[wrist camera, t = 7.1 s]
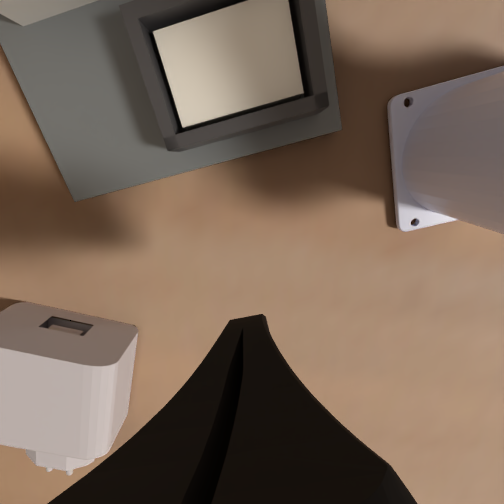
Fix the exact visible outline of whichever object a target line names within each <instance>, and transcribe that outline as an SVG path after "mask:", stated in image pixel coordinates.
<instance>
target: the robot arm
mask: <svg viewBox="0 0 504 504" xmlns="http://www.w3.org/2000/svg"><path fill="white" fill-rule="evenodd" d="M406 98H408V99H409V101H410V103H409V106H408V107H405V106H404V100H405V99H406ZM387 111H388V124H389V137H390V150H391V163H392V175H393V188H394V201H395V214H396V225H397V228H398V229H399V230H401V231H404V232H405V231H411V230H415V229H420V228H424V227H429V226H433V225H437V224H442V223H446V222H451V221H455V220H461V221H464V222H467V223H471V224H474V225H477V226H480V227H483V228H486V229H489V230H492V231H496V232H499V233H502V234H504V66H500V67H497V68H493V69H490V70H486V71H482V72H479V73H475V74H472V75H468V76H464V77H461V78H457V79H453V80H450V81H446V82H443V83H439V84H435V85H432V86H428V87H425V88H421V89H417V90H414V91H410V92H406V93H403V94H399V95H397V96H394V97H392V98H391V99H390V100H389V102H388V106H387ZM413 219H416V222H415V223H414V224H413V225H411V221H412V220H413ZM48 504H417V502H416V501H415V499H414V498H413V496H412V495H411V493H410V492H409V491H408V489H407V488H406V486H405V485H404V483H403V482H402V481H401V479H400V478H399V476H398V475H397V474H396V472H395V471H394V470H393V468H392V467H391V465H389V464H388V463H387V462H386V461H385V460H383V459H382V458H381V457H380V456H378V455H377V454H376V453H375V452H373V451H372V450H371V449H370V448H368V447H367V446H366V445H365V444H364V443H363V442H361V441H360V440H359V439H358V438H357V437H355V436H354V435H353V434H352V433H351V432H350V431H349V430H348V429H347V428H345V427H344V426H343V425H342V424H341V423H340V422H339V421H338V420H337V419H336V418H335V417H334V416H333V415H332V414H331V413H330V412H329V411H328V410H327V409H326V408H325V407H324V406H323V405H322V404H321V403H320V402H319V401H318V400H317V399H316V398H315V397H314V396H313V395H312V394H311V393H310V391H309V390H308V389H307V388H306V387H305V386H304V384H303V383H302V382H301V381H300V380H299V378H298V377H297V376H296V375H295V373H294V372H293V371H292V369H291V368H290V366H289V365H288V363H287V362H286V360H285V359H284V357H283V356H282V354H281V353H280V351H279V350H278V348H277V346H276V344H275V342H274V340H273V339H272V337H271V334H270V332H269V328H268V324H267V320H266V316H264V315H263V314H259V315H254V316H249V317H244V318H238V319H233V320H230V321H229V322H228V324H227V325H226V327H225V328H224V330H223V332H222V333H221V335H220V336H219V338H218V339H217V341H216V342H215V344H214V345H213V347H212V348H211V350H210V351H209V353H208V354H207V356H206V357H205V358H204V360H203V361H202V363H201V364H200V365H199V367H198V368H197V369H196V370H195V372H194V373H193V374H192V376H191V377H190V378H189V379H188V381H187V382H186V383H185V384H184V385H183V387H182V388H181V389H180V390H179V391H178V392H177V393H176V394H175V396H174V397H173V398H172V399H171V400H170V401H169V402H168V403H167V404H166V405H165V406H164V407H163V408H162V409H161V410H160V411H159V412H158V413H157V414H156V415H155V416H154V417H153V418H152V419H151V420H150V421H149V422H148V423H147V424H146V425H145V426H144V427H142V428H141V429H140V430H139V431H138V432H137V433H136V434H135V435H134V436H133V437H132V438H131V439H129V440H128V441H127V442H126V443H125V444H124V445H122V446H121V447H120V448H119V449H118V450H117V451H115V452H114V453H113V454H112V455H111V456H109V457H108V458H107V459H106V460H104V461H103V462H102V463H101V464H100V465H98V466H97V467H96V468H95V469H93V470H92V471H91V472H89V473H88V474H87V475H86V476H84V477H83V478H81V479H80V480H79V481H77V482H76V483H75V484H73V485H72V486H71V487H69V488H68V489H67V490H65V491H64V492H63V493H61V494H60V495H59V496H57V497H56V498H55V499H53V500H52V501H50V502H49V503H48Z"/></svg>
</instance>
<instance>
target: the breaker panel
mask: <svg viewBox="0 0 504 504" xmlns="http://www.w3.org/2000/svg"><path fill="white" fill-rule="evenodd" d="M244 1H247V0H0V44H1V46H2V48H3V50H4V52H5V55H6V57H7V59H8V61H9V63H10V65H11V67H12V70H13V72H14V74H15V76H16V78H17V80H18V82H19V84H20V87H21V89H22V91H23V93H24V95H25V97H26V99H27V101H28V104H29V106H30V108H31V110H32V112H33V114H34V116H35V118H36V121H37V123H38V125H39V127H40V129H41V131H42V133H43V136H44V138H45V140H46V142H47V144H48V146H49V148H50V150H51V153H52V155H53V157H54V159H55V161H56V163H57V165H58V167H59V170H60V172H61V174H62V176H63V178H64V180H65V182H66V184H67V187H68V189H69V191H70V193H71V195H72V197H73V199H74V202H76V201H80V200H84V199H88V198H92V197H95V196H99V195H103V194H106V193H110V192H114V191H118V190H121V189H125V188H129V187H132V186H136V185H140V184H144V183H147V182H151V181H155V180H158V179H162V178H166V177H169V176H173V175H177V174H181V173H184V172H188V171H192V170H195V169H199V168H203V167H207V166H210V165H214V164H218V163H221V162H225V161H229V160H233V159H236V158H240V157H244V156H247V155H251V154H255V153H258V152H262V151H266V150H270V149H273V148H277V147H281V146H284V145H288V144H292V143H296V142H299V141H303V140H307V139H310V138H314V137H318V136H322V135H325V134H329V133H333V132H336V131H340V130H342V125H341V118H340V110H339V102H338V95H337V87H336V79H335V72H334V64H333V56H332V49H331V41H330V33H329V26H328V18H327V10H326V3H325V0H288V2H289V8H290V14H291V20H292V26H293V32H294V38H295V44H296V50H297V56H298V62H299V68H300V74H301V80H302V86H303V92H304V93H303V94H302V96H301V97H300V98H299V99H297V100H293V101H290V102H286V103H283V104H279V105H276V106H272V107H269V108H265V109H262V110H258V111H255V112H251V113H248V114H244V115H241V116H237V117H234V118H230V119H227V120H223V121H220V122H216V123H213V124H209V125H206V126H202V127H199V128H195V129H192V130H188V129H185V128H183V127H182V124H181V121H180V118H179V114H178V111H177V108H176V105H175V101H174V98H173V95H172V92H171V89H170V85H169V82H168V79H167V76H166V72H165V69H164V66H163V63H162V59H161V56H160V53H159V50H158V47H157V43H156V40H155V37H154V34H153V31H156V30H159V29H162V28H165V27H168V26H171V25H174V24H177V23H180V22H183V21H186V20H189V19H192V18H195V17H199V16H202V15H205V14H208V13H211V12H214V11H217V10H220V9H223V8H226V7H229V6H232V5H235V4H238V3H241V2H244Z"/></svg>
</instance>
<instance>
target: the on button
mask: <svg viewBox="0 0 504 504" xmlns="http://www.w3.org/2000/svg"><path fill="white" fill-rule="evenodd" d="M153 34H154V37H155V40H156V43H157V47H158V50H159V53H160V56H161V59H162V63H163V66H164V69H165V72H166V76H167V79H168V82H169V85H170V89H171V92H172V95H173V98H174V101H175V105H176V108H177V111H178V114H179V118H180V121H181V124H182V127H183V128H185V129H188V130H192V129H195V128H199V127H202V126H206V125H209V124H213V123H216V122H220V121H223V120H227V119H230V118H234V117H237V116H241V115H244V114H248V113H251V112H255V111H258V110H262V109H265V108H269V107H272V106H276V105H279V104H283V103H286V102H290V101H293V100H297V99H299V98H300V97H301V96H302V94H303V93H304V92H303V86H302V80H301V74H300V68H299V62H298V56H297V50H296V44H295V38H294V32H293V26H292V20H291V14H290V8H289V2H288V0H247V1H244V2H241V3H238V4H235V5H232V6H229V7H226V8H223V9H220V10H217V11H214V12H211V13H208V14H205V15H202V16H199V17H195V18H192V19H189V20H186V21H183V22H180V23H177V24H174V25H171V26H168V27H165V28H162V29H159V30H156V31H153Z"/></svg>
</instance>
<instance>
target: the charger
mask: <svg viewBox="0 0 504 504" xmlns="http://www.w3.org/2000/svg"><path fill="white" fill-rule="evenodd" d="M51 316H55V317H59V318H64V319H68V320H73V321H78V322H82V323H87V324H91V325H94V326H90V325H86V324H81V323H77V322H72V321H67V320H63V319H58V318H53V317H51ZM137 336H138V328H137V327H136V326H134V325H131V324H126V323H122V322H117V321H113V320H108V319H104V318H99V317H95V316H90V315H85V314H81V313H76V312H72V311H67V310H62V309H58V308H53V307H49V306H44V305H39V304H35V303H30V302H20V303H15V304H13V305H11V306H9V307H8V308H6V309H4V310H3V311H1V312H0V444H1V445H5V446H10V447H16V448H21V449H26V454H27V456H28V457H29V458H30V459H31V460H32V461H33V462H34V464H35V465H36V466H42V467H46V471H47V472H50V471H52V470H53V469H58V470H64V471H66V474H67V475H71V474H72V473H73V469H75V468H79V467H83V466H86V465H88V464H90V463H92V462H93V461H94V459H95V458H98V457H102V456H103V455H105V454H107V453H108V451H109V450H110V448H111V446H112V444H113V442H114V440H115V438H116V436H117V434H118V432H119V430H120V428H121V426H122V424H123V422H124V420H125V418H126V416H127V414H128V406H129V399H130V391H131V383H132V375H133V368H134V360H135V352H136V344H137Z"/></svg>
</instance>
